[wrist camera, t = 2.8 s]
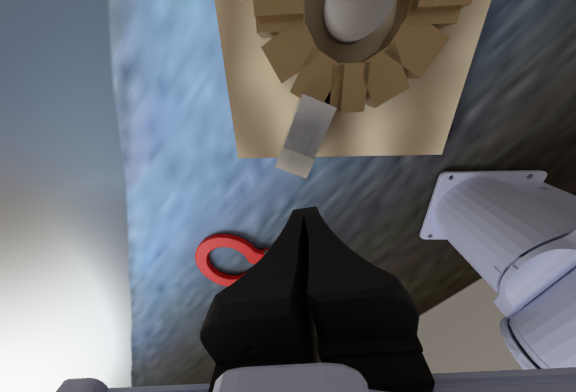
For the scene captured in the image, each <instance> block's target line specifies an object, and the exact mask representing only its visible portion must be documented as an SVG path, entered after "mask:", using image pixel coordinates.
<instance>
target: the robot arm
mask: <svg viewBox="0 0 576 392" xmlns="http://www.w3.org/2000/svg"><path fill="white" fill-rule="evenodd" d="M451 175H452V177H451V178H449V177H450V176H451ZM528 175H529V176H528ZM527 176H528V177H527ZM546 177H547V172H545V171H542V170H516V171H446V172H442V173H441V174H440V175H439V177H438V180H437V183H436V186H435V189H434V192H433V195H432V198H431V201H430V204H429V207H428V210H427V213H426V216H425V219H424V223H423V226H422V229H421V232H420V237H421V238H422V239H447V240H448V241H449V242H450V243H451V244H452V245H453V246H454V247H455V248H456V249H457V250H458V252H459V253H460V254H461V255H462V256H463V257H464V258H465V259H466V260H467V261H468V262H469V263H470V264H471V266H472V267H473V268H474V269H475V270H476V271H477V272H478V273H479V274H480V275H481V276H482V277H483V278H484V279H485V281H486V282H487V283H488V284H489V285H490V286H491V287H492V288H493V289H494V290H495V291H496V292H497V293H498V294H499V295H498V297H497V298H496V299H495V300H494V302H493V303H494V304H495V305H496V306H497V307H498V308H499V310H500V311H501V312H502V313H503V314H504V315H505V317H504V318H502V320H501V322H500V330H501V334H502V336H503V338H504V340H505V342H506V344H507V346H508V348H509V350H510V352H511V354H512V355H513V357H514V358H515V359H516V361H517V362H518V363H519V365H520V366H521V367H522V368H523V370H502V371H482V372H460V373H436V374H431V372H430V370H429V367H428V365H427V363H426V361H425V359H424V356H423V354H422V352H423V348H422V346H421V343H420V341H419V339H418V337H417V330H418V322H419V312H418V309H417V307H416V305H415V303H414V301H413V299H412V298H411V296H410V295H409V293H408V292H407V290H406V289H405V288H404V286H403V285H402V284H401V282H400V281H399V280H398V279H397V277H395V276H394V275H392V274H390V273H388V272H386V271H384V270H382V269H380V268H378V267H376V266H374V265H373V264H371V263H369V262H368V261H366V260H365V259H364V258H362V257H361V256H359V255H358V254H356V253H355V252H354V251H352V250H351V249H350V248H349V247H348V246H346V245H345V244H344V243H343V242H342V241H341V240H340V239H339V238H338V237H337V236H336V235H335V234H334V233H333V232H332V230H331V229H330V228H329V227H328V225H327V224H326V223H325V221H324V220H323V218H322V217H321V215H320V213H319V211H318V208H317V207H309V208H303V209H296V210H293V211H292V213H291V216H290V218H289V220H288V221H287V223H286V225H285V227H284V229H283V230H282V232H281V234H280V235H279V237H278V238H277V239H276V241H275V242H274V244H273V245H272V246H271V248H270V249H269V250H268V251H267V253H266V254H265V255H264V256H263V257H262V258H261V259H260V260H259V261H258V262H257V263H256V264H255V265H254V266H253V267H252V268H251V269H250V270H249V271H248V272H246V273H245V274H244V275H243V276H242V277H240V278H239V279H238V280H237V281H235V282H234V283H233V284H231V285H230V286H228V287H227V288H225V289H224V290H223V291H221V292H220V293H218V294H217V295H215V297H214V299H213V301H212V304H211V306H210V308H209V311H208V313H207V316H206V318H205V321H204V323H203V326H202V329H201V331H200V340H201V342H202V344H203V346H204V347H205V349H206V350H207V352H208V353H209V354H210V356H211V357H212V359H213V360H214V361H215V363H216V366H215V369H214V373H213V376H212V380H211V383H210V384H193V385H171V386H149V387H128V388H107V386H106V385H105V384H104V383H103V382H101V381H99V380H97V379H94V378H93V379H92V378H82V379H68V380H65V381H64V382H63V384H62V385H61V386H60V388H59V389H58V390H57V391H56V392H576V196H575V195H572V194H570V193H568V192H565V191H563V190H560V189H558V188H556V187H553V186H551V185H549V184H546V183H544V180H545V178H546ZM430 234H431V235H430ZM428 235H429V236H428ZM314 323H315V327H316V331H317V338H318V351H319V358H321V362H322V363H318V359H317V349H316V339H315V328H314Z"/></svg>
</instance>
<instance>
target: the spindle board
mask: <svg viewBox="0 0 576 392" xmlns="http://www.w3.org/2000/svg"><path fill="white" fill-rule="evenodd" d="M490 2H491V0H472V4H471V5H469V6H466V7H464V8H462V9H461V11H460V15H459V18H458V22H457V23H456V24H453V25H450V26H447V27H444V28H442V29H439V31H441V32H442V33H443V34H445V35H446V36H447V37H448V38H450V39H449V40H448V41H447V43H446V44H445V45H444V47H443V48H442V50H441V51H440V52H439V54H438V55H437V56H436V58H435V59H434V60H433V62H432V63H431V64H430V66H429V67H428V69H427V70H426V71H425V73H424V74H423V75H422V77H421V78H412V79H407V81H408V84H409V87H410V88H409V89H407V90H405V91H404V92H402V93H400V94H399V95H397V96H395V97H393V98H392V99H390V100H388V101H387V102H385V103H383V104H381V105H380V106H378V107H376V108H373V107H371V106H368V105H367V104H366V101H365V108H364V112H347V113H341V112H335V113H334V116H333V118H332V120H331V122H330V125H329V127H328V129H327V131H326V134H325V136H324V138H323V140H322V143H321V145H320V147H319V149H318V152H317V154H316V156H315V157H333V156H387V155H441V154H442V152H443V149H444V146H445V143H446V140H447V137H448V134H449V130H450V127H451V124H452V121H453V118H454V115H455V112H456V109H457V105H458V102H459V99H460V96H461V93H462V90H463V87H464V84H465V80H466V77H467V74H468V71H469V68H470V65H471V62H472V59H473V55H474V52H475V49H476V46H477V43H478V40H479V37H480V34H481V30H482V27H483V24H484V21H485V18H486V15H487V12H488V9H489V5H490ZM215 6H216V13H217V19H218V26H219V33H220V39H221V46H222V53H223V59H224V66H225V73H226V79H227V86H228V93H229V99H230V106H231V113H232V119H233V126H234V133H235V139H236V146H237V153H238V158H278V156H279V152H280V149H281V146H282V144H283V141H284V138H285V136H286V134H287V131H288V129H289V126H290V123H291V120H292V117H293V115H294V112H295V109H296V106H297V103H298V101H299V97H297V96H295V95H294V94H292V93H290V90H291V88H292V86H293V84H294V82H295V80H296V78H297V76H298V74H299V72H298V73H297V74H295V75H294V76H293V77H291V78H290V79H288V80H287V81H286V82H284V83H282V84H281V82H280V80H279V78H278V77H277V75H276V73H275V71H274V69H273V68H272V66H271V64H270V62H269V61H268V59H267V57H266V55H265V53H264V52H263V50H262V48H261V47H262V46H263V45H264V44H266V43H267V42H268V41H269V40H271V39H272V38H261V37H260V36H259V35H258V34H257V30H256V18H255V16H254V6H253V0H215ZM396 6H397V0H305V23H306V25H307V27H308V30H309V32H310V34H311V36H312V38H313V40H314V42H315V45H316V47H317V49H318V50H320V51H321V52H323V53H324V54H326V55H327V56H329V57H330V58H332V59H333V60H335V61H336V62H338V63H355V62H361V61H362V60H364V59H365V58H367V57H368V56H370V55H371V54H373V53H374V52H376V51H377V50H378V49H379V47H380V46H381V44H382V43H383V41H384V39H385V38H386V36H387V34H388V33H389V31H390V30H391V28H392V26H393V25H394V19H395V13H396ZM325 101H327V97H326V99H325Z"/></svg>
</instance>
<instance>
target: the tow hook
mask: <svg viewBox="0 0 576 392" xmlns="http://www.w3.org/2000/svg"><path fill="white" fill-rule="evenodd" d="M218 247H229V248H233V249H235V250H238V251H239V252H241V253H242V254H243V255H244V256H245V257H246V258H247V260H248V262H250V263H252V264H256V263H257V262H258V261H259V260H260V259H261V258H262V257H263V256H264V255H265V254H266V253H267V251H268V250H269V249H263V250H259V249H256V248H255V247H254V246H253V245H252V244H251V243H249V242H248V241H247V240H245V239H243V238H240V237H238V236H235V235H231V234H216V235H211V236H210V237H208V238H206V239H204V240H203V241H202V242H201V243H200V245H199V246H198V248H197V250H196V253H195V260H196V263H197V266H198V268H199V269H200V271H201V272H202V273H203V274H204V275H205V276H206V277H207V278H209V279H210V280H212V281H213V282H216V283H218V284H220V285H224V286H230V285H231V284H233V283H234V282H235V281H237V280H238V279H239V278H240V277H242V276H243V275H244V274H245V273H246V272H245V273H244V274H241V275H236V276H234V275H227V274H224V273H221V272H219V271H218V270H216V269H215V268H214V267H213V266H212V264H211V262H210V260H209V253H210V251H211V250H213V249H215V248H218Z"/></svg>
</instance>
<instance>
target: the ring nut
mask: <svg viewBox="0 0 576 392" xmlns="http://www.w3.org/2000/svg"><path fill="white" fill-rule="evenodd" d="M471 4H472V0H397V6H396V13H395V19H394V25H393V26H392V28H391V30H390V31H389V33H388V34H387V36H386V38H385V39H384V41H383V43H382V44H381V46H380V47H379V49H378V50H377V51H376V52H374V53H373V54H371V55H370V56H368V57H367V58H365V59H364V60H362V61H361V62H355V63H338V62H336V61H335V60H333V59H332V58H330V57H329V56H327V55H326V54H324V53H323V52H321V51H320V50H318V49H317V47H316V45H315V42H314V40H313V38H312V36H311V34H310V32H309V30H308V27H307V25H306V23H305V0H253V6H254V16H255V18H256V30H257V34H258V35H259V36H260V37H261V38H272V39H271V40H269V41H268V42H267V43H266V44H264V45H263V46H262V47H261V48H262V50H263V52H264V53H265V55H266V57H267V59H268V61H269V62H270V64H271V66H272V68H273V69H274V71H275V73H276V75H277V77H278V78H279V80H280V82H281V84H282V83H284V82H286V81H287V80H288V79H290V78H291V77H293V76H294V75H295V74H297V73H298V72H299V74H298V76H297V78H296V80H295V82H294V84H293V86H292V88H291V90H290V93H292V94H294V95H295V96H297V97H299V101H298V103H297V106H296V109H295V112H294V115H293V117H292V120H291V123H290V126H289V129H288V131H287V134H286V136H285V138H284V141H283V144H282V146H281V149H280V152H279V156H278V159H277V163H276V168H279V169H282V170H285V171H287V172H290V173H293V174H296V175H299V176H301V177H304V178H307V176H308V174H309V172H310V169H311V167H312V165H313V163H314V160H315V156H316V154H317V152H318V149H319V147H320V145H321V143H322V140H323V138H324V136H325V134H326V131H327V129H328V127H329V125H330V122H331V120H332V118H333V116H334V113H335V112H341V113H347V112H364V108H365V101H366V104H367V105H368V106H371V107H373V108H376V107H378V106H380V105H381V104H383V103H385V102H387V101H388V100H390V99H392V98H393V97H395V96H397V95H399V94H400V93H402V92H404V91H405V90H407V89H409V88H410V87H409V84H408V81H407V79H412V78H421V77H422V75H423V74H424V73H425V71H426V70H427V69H428V67H429V66H430V64H431V63H432V62H433V60H434V59H435V58H436V56H437V55H438V54H439V52H440V51H441V50H442V48H443V47H444V45H445V44H446V43H447V41H448V40H449V39H450V38H448V37H447V36H446V35H445V34H443V33H442V32H441V31H439V29H442V28H444V27H447V26H450V25H453V24H456V23H457V22H458V18H459V15H460V11H461V9H462V8H464V7H466V6H469V5H471ZM326 97H327V101H325V99H326Z"/></svg>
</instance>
